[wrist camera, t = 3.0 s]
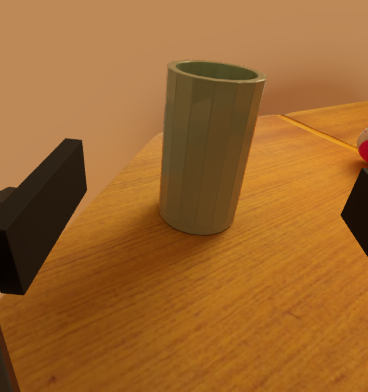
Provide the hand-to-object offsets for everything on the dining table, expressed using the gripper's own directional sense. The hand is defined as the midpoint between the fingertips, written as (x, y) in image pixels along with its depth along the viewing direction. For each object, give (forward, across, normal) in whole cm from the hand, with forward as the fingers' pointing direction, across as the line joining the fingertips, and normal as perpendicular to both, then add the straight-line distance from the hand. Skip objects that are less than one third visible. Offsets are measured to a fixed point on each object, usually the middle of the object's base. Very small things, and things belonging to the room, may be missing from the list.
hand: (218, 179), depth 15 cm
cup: (+10, 0, -9) cm, 13 cm away
